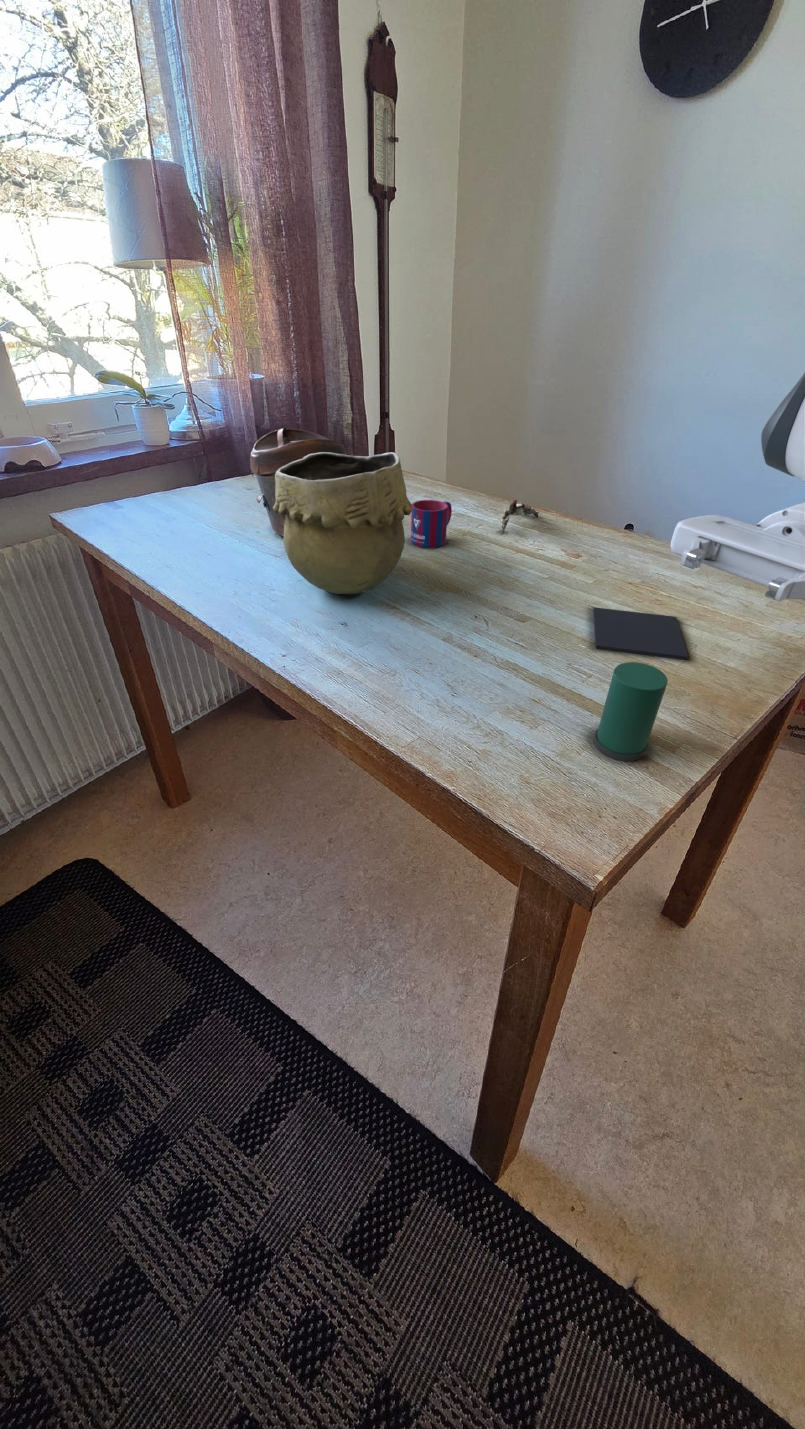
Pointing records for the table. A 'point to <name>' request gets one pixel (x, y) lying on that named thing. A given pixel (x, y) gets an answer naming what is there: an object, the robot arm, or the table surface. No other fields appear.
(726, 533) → the robot arm
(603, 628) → the mat
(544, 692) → the table surface
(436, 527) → the mug
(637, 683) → the thermos cap
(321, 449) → the brown planter
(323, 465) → the clay pot
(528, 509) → the figurine
